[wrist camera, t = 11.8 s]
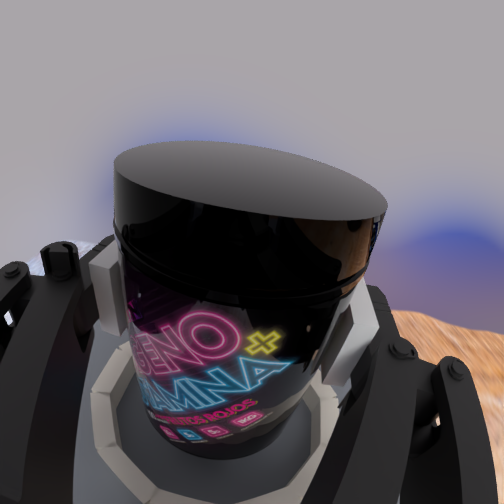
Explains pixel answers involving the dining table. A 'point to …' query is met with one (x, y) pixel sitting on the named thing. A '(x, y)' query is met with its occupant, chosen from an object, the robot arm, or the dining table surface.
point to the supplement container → (234, 283)
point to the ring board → (176, 461)
